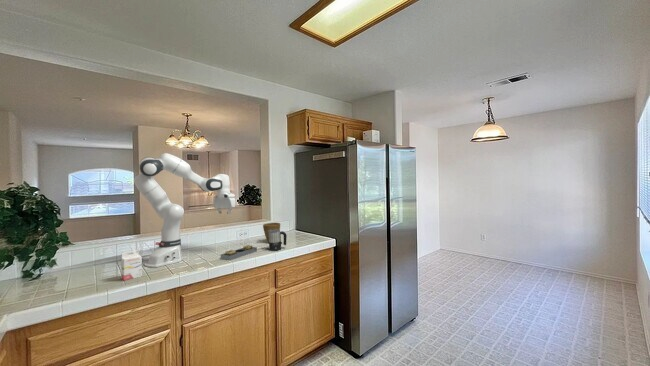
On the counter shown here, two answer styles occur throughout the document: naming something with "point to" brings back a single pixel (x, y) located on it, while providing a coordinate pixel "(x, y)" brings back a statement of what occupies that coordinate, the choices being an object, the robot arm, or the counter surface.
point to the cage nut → (247, 247)
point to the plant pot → (270, 228)
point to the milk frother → (276, 239)
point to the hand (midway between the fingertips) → (224, 213)
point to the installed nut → (230, 252)
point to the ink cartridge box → (131, 265)
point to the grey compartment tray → (238, 253)
